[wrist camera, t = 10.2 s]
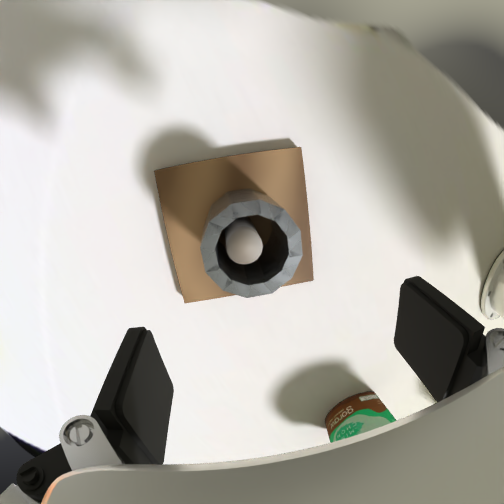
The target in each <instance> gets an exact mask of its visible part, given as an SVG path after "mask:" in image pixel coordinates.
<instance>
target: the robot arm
mask: <svg viewBox="0 0 504 504" xmlns="http://www.w3.org/2000/svg"><path fill="white" fill-rule="evenodd" d="M481 309H482V313H483V315H484V316H485V317H486V318H488V319H490V320H493V319H497V318H498V317H500V316H501V317H502V318H504V251H503V252H502V253H501V254H500V255H499V257H498V258H497V259H496V261H495V263H494V264H493V266H492V268H491V270H490V272H489V274H488V277H487V279H486V282H485V285H484V289H483V293H482V299H481ZM484 328H485V327H484V326H483V325H482V324H481V323H479V322H478V321H477V320H476V319H474V318H473V317H472V316H471V315H470V314H468V313H467V312H466V311H465V310H463V309H462V308H461V307H459V306H458V305H457V304H456V303H454V302H453V301H452V300H450V299H449V298H448V297H447V296H445V295H444V294H443V293H441V292H440V291H439V290H437V289H436V288H435V287H433V286H432V285H431V284H429V283H428V282H427V281H425V280H424V279H422V278H421V277H419V276H416V277H412V278H408V279H406V280H405V281H404V283H403V284H402V285H401V288H400V298H399V307H398V315H397V323H396V330H395V337H394V344H395V347H396V349H397V350H398V351H399V353H400V354H401V355H402V356H403V358H404V359H405V360H406V362H407V363H408V364H409V365H410V367H411V368H412V369H413V371H414V372H415V373H416V375H417V376H418V377H419V378H420V380H421V381H422V382H423V384H424V385H425V386H426V388H427V389H428V390H429V392H430V393H431V394H432V396H433V397H434V398H435V400H436V401H437V402H438V403H436V404H434V405H432V406H429V407H427V408H425V409H423V410H421V411H419V412H416V413H414V414H412V415H409V416H407V417H405V418H402V419H400V420H397V421H395V422H392V423H390V424H387V425H384V426H382V427H379V428H376V429H373V430H370V431H368V432H365V433H362V434H359V435H355V436H352V437H349V438H346V439H342V440H339V441H335V442H332V443H328V444H324V445H320V446H316V447H312V448H308V449H303V450H299V451H294V452H289V453H284V454H279V455H273V456H267V457H260V458H254V459H246V460H237V461H228V462H216V463H200V464H171V465H162V464H163V462H164V455H165V447H166V440H167V432H168V425H169V418H170V412H171V405H172V399H173V392H174V390H173V384H172V382H171V379H170V377H169V375H168V372H167V370H166V368H165V365H164V363H163V360H162V358H161V356H160V353H159V351H158V348H157V345H156V343H155V340H154V338H153V335H152V333H151V331H150V330H146V328H145V327H137V328H129V329H128V331H127V333H126V335H125V337H124V339H123V341H122V343H121V346H120V348H119V350H118V352H117V354H116V356H115V359H114V361H113V363H112V365H111V368H110V370H109V372H108V374H107V377H106V379H105V381H104V384H103V386H102V389H101V391H100V393H99V396H98V398H97V401H96V403H95V406H94V408H93V411H92V413H91V416H87V415H78V416H75V417H73V418H71V419H69V420H68V421H67V422H66V423H65V424H64V425H63V426H62V428H61V430H60V434H59V438H60V442H61V443H60V444H59V445H57V446H55V447H53V448H51V449H50V450H48V451H46V452H44V453H42V454H41V455H39V456H37V457H35V458H33V459H31V460H30V461H28V462H26V463H25V464H23V465H22V466H21V467H20V469H19V471H18V473H17V485H14V484H13V483H12V484H11V485H10V486H9V487H8V488H7V489H6V490H5V491H4V492H3V493H2V494H1V495H0V504H504V329H502V328H495V329H492V330H490V331H489V332H488V333H487V334H486V336H484V335H483V331H484Z"/></svg>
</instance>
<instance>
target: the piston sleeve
mask: <svg viewBox="0 0 504 504" xmlns="http://www.w3.org/2000/svg"><path fill="white" fill-rule="evenodd" d="M257 214H258V215H260V216H263V217H266V218H268V219H271V224H272V232H271V235H270V237H269V239H268V242H267V244H265V245H264V246H263V248H262V252H261V255H260V256H259V258H258V259H257V260H255V261H254V262H252V263H249V264H239V263H236V262H234V261H233V260H232V259H231V258H230V257H229V255H228V253H227V249H226V248H225V247H224V246H223V245H222V243H221V242H220V241H219V240H218V239H219V236H220V234H221V231H222V230H223V229H224V228H225V227H227V226H228V225H229V224H230V223H232V222H233V221H234V220H235V219H236V218H239V217H245V216H251V215H257ZM200 249H201V254H202V259H203V263H204V268H205V272H206V273H207V275H208V276H209V277H210V278H211V279H212V280H213V281H214V282H215V283H216V284H217V285H218V286H219V287H220V288H221V289H222V290H223V291H226V292H229V293H232V294H236V295H239V296H242V297H246V298H249V297H255V296H260V295H265V294H271V293H273V292H274V291H276V290H277V289H278V288H280V287H281V286H282V285H284V284H285V283H286V282H287V281H289V280H290V279H291V278H292V277H293V275H294V273H295V271H296V269H297V266H298V264H299V262H300V260H301V258H302V256H303V253H302V242H301V231H300V229H299V228H298V226H297V225H296V224H295V222H294V221H293V220H292V218H291V217H290V216H289V214H288V213H287V212H286V210H285V209H284V208H283V207H281V206H280V205H279V204H278V203H277V202H275V201H274V200H273V199H272V198H271V197H269V196H268V195H265V194H263V193H260V192H258V191H255V190H252V189H250V188H247V189H241V190H234V191H228V192H227V193H225V194H224V195H223V196H222V197H221V198H219V199H218V200H217V201H216V202H214V203H213V204H212V205H211V207H210V210H209V213H208V215H207V218H206V221H205V224H204V228H203V234H202V239H201V245H200Z"/></svg>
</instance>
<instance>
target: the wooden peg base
mask: <svg viewBox="0 0 504 504" xmlns="http://www.w3.org/2000/svg"><path fill="white" fill-rule="evenodd" d="M154 172H155V178H156V183H157V188H158V193H159V198H160V203H161V208H162V213H163V218H164V222H165V227H166V231H167V236H168V240H169V244H170V248H171V253H172V257H173V261H174V265H175V269H176V273H177V277H178V280H179V284H180V288H181V292H182V295H183V299H184V302H185V303H190V302H196V301H203V300H209V299H215V298H221V297H227V296H233V295H236V294H232V293H229V292H226V291H223V290H222V289H221V288H220V287H219V286H218V285H217V284H216V283H215V282H214V281H213V280H212V279H211V278H210V277H209V276H208V275H207V273H206V272H205V268H204V263H203V259H202V254H201V249H200V245H201V239H202V234H203V228H204V224H205V221H206V218H207V215H208V213H209V210H210V207H211V205H212V204H213V203H214V202H216V201H217V200H218V199H219V198H221V197H222V196H223V195H224V194H225V193H227V192H228V191H234V190H241V189H247V188H250V189H252V190H255V191H258V192H260V193H263V194H265V195H268V196H269V197H271V198H272V199H273V200H274V201H275V202H277V203H278V204H279V205H280V206H281V207H283V208H284V209H285V210H286V212H287V213H288V214H289V216H290V217H291V218H292V220H293V221H294V222H295V224H296V225H297V226H298V228H299V229H300V231H301V242H302V253H303V256H302V258H301V260H300V262H299V264H298V266H297V269H296V271H295V273H294V275H293V277H292V278H291V279H290V280H289V281H287V282H286V283H285V284H284V285H282V286H287V285H292V284H297V283H303V282H308V281H313V264H312V250H311V237H310V225H309V214H308V203H307V193H306V184H305V175H304V166H303V158H302V150H301V147H296V148H286V149H277V150H269V151H261V152H254V153H247V154H240V155H233V156H227V157H221V158H215V159H209V160H204V161H198V162H193V163H188V164H183V165H178V166H173V167H168V168H164V169H159V170H155V171H154ZM271 232H272V224H271V219H268V218H266V217H263V216H260V215H258V214H257V215H251V216H245V217H239V218H236V219H235V220H234V221H233V222H232V223H230V224H229V225H228V226H227V227H225V228H224V229H223V230H222V231H221V234H220V236H219V239H218V240H219V241H220V242H221V243H222V245H223V246H224V247H225V248H226V249H227V253H228V255H229V257H230V258H231V259H232V260H233V261H234V262H236V263H239V264H249V263H252V262H254V261H255V260H257V259H258V258H259V256H260V255H261V252H262V248H263V246H264V245H265V244H267V242H268V239H269V237H270V235H271ZM282 286H281V287H282Z"/></svg>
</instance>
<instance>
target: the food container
mask: <svg viewBox="0 0 504 504" xmlns="http://www.w3.org/2000/svg"><path fill="white" fill-rule="evenodd" d="M395 421H396V419H395V418H394V417H393V415H392V414H391V413H390V412H389V410H388V409H387V408H386V406H385V405H384V404H383V403H382V401H381V400H380V399H379V398H378V396H377V395H376V394H375V392H364V393H359V394H356V395H354V396H351V397H348V398H347V399H345V400H343V401H342V402H340V403H339V404H337V405H336V406H335V407H334V408H333V409H332V410H331V411H330V412H329V413H328V415H327V417H326V419H325V424H326V427H327V431H328V435H329V439H330V442H331V443H332V442H335V441H339V440H342V439H346V438H349V437H352V436H355V435H359V434H362V433H365V432H368V431H370V430H373V429H376V428H379V427H382V426H384V425H387V424H390V423H392V422H395Z"/></svg>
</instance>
